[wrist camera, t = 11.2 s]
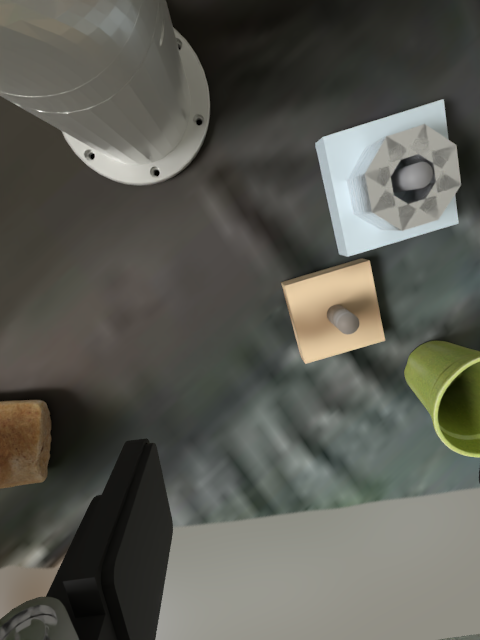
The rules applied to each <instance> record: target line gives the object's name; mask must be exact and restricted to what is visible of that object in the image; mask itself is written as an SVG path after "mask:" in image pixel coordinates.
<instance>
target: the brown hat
mask: <svg viewBox="0 0 480 640" xmlns="http://www.w3.org/2000/svg"><path fill="white" fill-rule="evenodd" d="M50 431H51V419H50V412H49V410H48V407H47V404H46V402H44V401H41V400H22V401H17V400H14V401H1V402H0V488H7V487H13V486H18V485H24V484H31V483H39V482H43V481H44V480H45V479H46V478H47V473H48V471H47V466H48V462H49V458H50V453H49V452H50V448H51V447H50V443H51V434H50Z"/></svg>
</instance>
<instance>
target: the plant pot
mask: <svg viewBox="0 0 480 640" xmlns="http://www.w3.org/2000/svg"><path fill="white" fill-rule="evenodd" d="M404 374H405V379H406V382H407V383H408V385H409V386H410V388H411V389H412V390H413V392H414V393H415V394H416V396H417V397H418V398H419V400H420V401H421V402H422V404H423V405H424V406H425V408H426V409H427V410H428V412H429V413H430V415H431V417H432V420H433V425H434V428H435V431H436V433H437V435H438V436H439V438H440V439H441V440H442V441H443V443H444V444H445V445H446V446H447V447H449V448H450V449H452V450H453V451H455V452H457V453H459V454H462V455H465V456H469V457H480V351H476V350H473V349H469V348H465V347H462V346H459V345H455V344H452V343H449V342H445V341H430V342H427V343H424V344H422V345H420V346H419V347H417V348H416V349H415V350H414V351H413V352H412V353H411V354H410V356H409V358H408V362H407V365H406V368H405V370H404Z"/></svg>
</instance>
